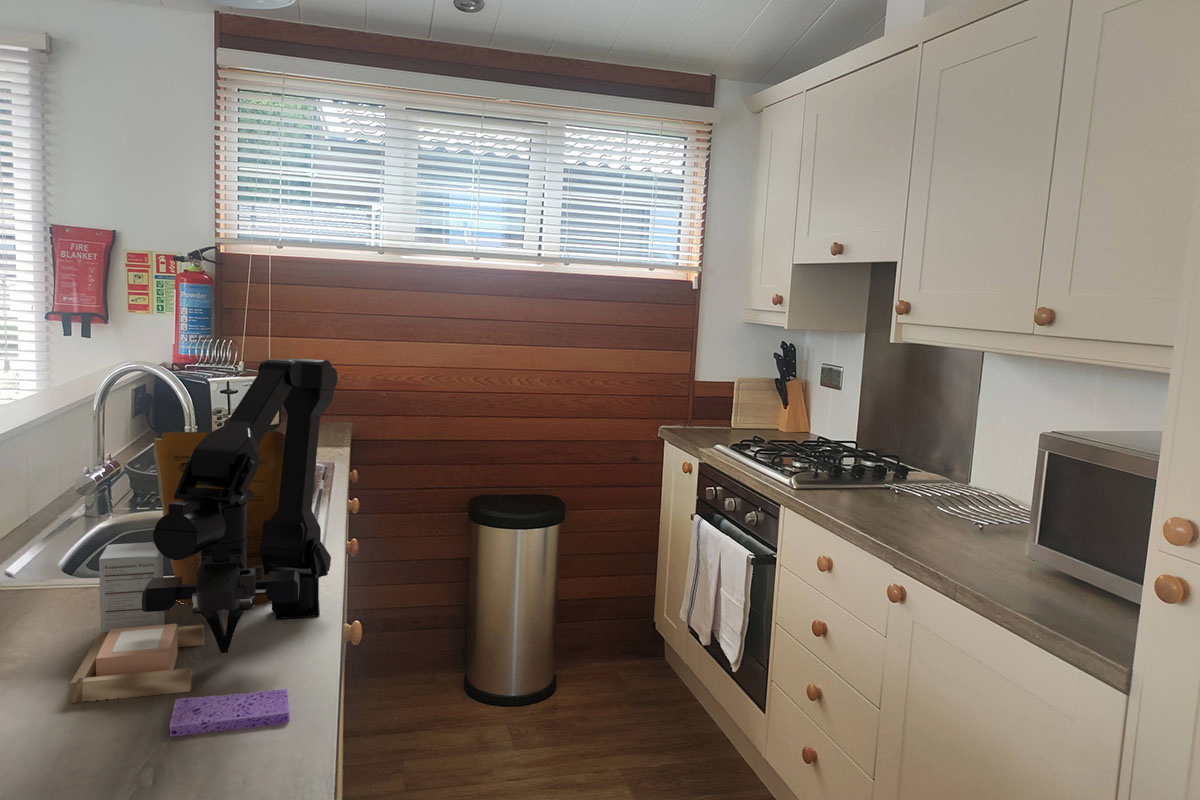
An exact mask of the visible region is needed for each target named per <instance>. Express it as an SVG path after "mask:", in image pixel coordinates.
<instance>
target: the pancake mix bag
mask: <svg viewBox="0 0 1200 800" xmlns="http://www.w3.org/2000/svg"><path fill="white" fill-rule="evenodd" d="M211 432H212V431H166V432H162V436H161V438H156V437H154V441H153V458H154V461H155V466H156V474H157V482H158V484H157V485H158V491H159V492H158V493H159V500H160V504H161V507H162V517H163V516H165V515H167V514H169V513H168V505H169V504H170V503H173V502H180V501H183V500H176V499H174V495H175V493H176V490H177V487H178V485H179V482H180V480H181V477H182V475H183V472H184V470H185V467H186V465H187V462H188V460H189V457H190V455H191V454H192V452H193V450H194V449H195V447H196V446H197V445H198V444H199V443H200V442H201V441H202V440H203V439H204V438H205V436H206V435H207V434H209V433H211ZM284 442H285V433H283V432H281V431H278V430H268V429H267V431H266V433H265V435H264V436H263V438H262V440H261V442H260V444H259V446H258V449H259V454H260V463H259V465H258V467H257V472H256V474H255V476H254V478H253V479H252V481H251V483H250V484H249V486H248V488H249V489H250V490H251V491H252V492H253V493H254V497H252V498H250V499H248V500H247V569H253V568H255V571H256V580H268V575H265V572H264V568H263V564H262V559H261V555H260V544H261V541H262V526H263V524H264V522H265V521H266V520H270V519H271V518H272V516H273V515H274V514H275V512H276V511H277V510H278V505H279V495H280V484H281V474H282V463H283V453H284ZM195 487H200V488H215V489H224V488H218V487H204V486H199V485H196V486H195ZM170 562H171V567H172V571H173V575H174V576H173V577H180V576H181V578H182V585H183V584H197V572H198V570H199V567H200V552H198V553H196V554H193V555H191V556H189V557H187V558H185V559H182V560H172V559H170ZM177 601H180V602H181V603H184V604H187V605H186V606H190V605H192V606H193V602H192V599H182V600H177ZM177 601H176V602H177ZM268 602H269V603H272V602H271V601H270V600H268V599H267V594H261V595H255V600H254V605H253V606H258V605H260V606H261V605H266V604H269V603H268ZM181 603H180V604H181Z"/></svg>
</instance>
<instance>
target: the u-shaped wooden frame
mask: <svg viewBox="0 0 1200 800" xmlns="http://www.w3.org/2000/svg"><path fill="white" fill-rule="evenodd" d="M204 626H205V625H204V624H197V625H196V624H194V625H186V626H185V625H183V626H177V642H178V648H185V647H193V646H194V647H196V646H204V643H205V627H204ZM108 633H109V632H101V631H100V632H99V634H98V636H97V638H96V640H95V641H94V643H93V645H92V646H91V648H90V649H89V651H88V653H87V654H86V656H85V657H84V659H83V661H82V662H81V665H80V666H79V668H78V669H77V671H76V673H75V675H74V676H73V678H72V679H71V681H70V704H77V703H76V702H78V703H86V702H85V701H89V702H97V701H96V700H99V701H106V700H105V699H109V700H116V699H117V698H119V699H127V698H136V697H137V698H139V697H146V696H147V697H149V696H157V695H158V696H159V695H169V694H179V693H190V692H191V690H192V668H191V667H188V668H187V667H186V668H179V669H178V668H177V669H175V668H174V669H173V670H164V671H153V672H142V673H131V674H120V675H109V676H98V677H96V657H97V655H98V653H99V651H100V649H101V647H102V645H103V643H104V641H105V639H106V637H107V635H108ZM117 700H118V699H117Z"/></svg>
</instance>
